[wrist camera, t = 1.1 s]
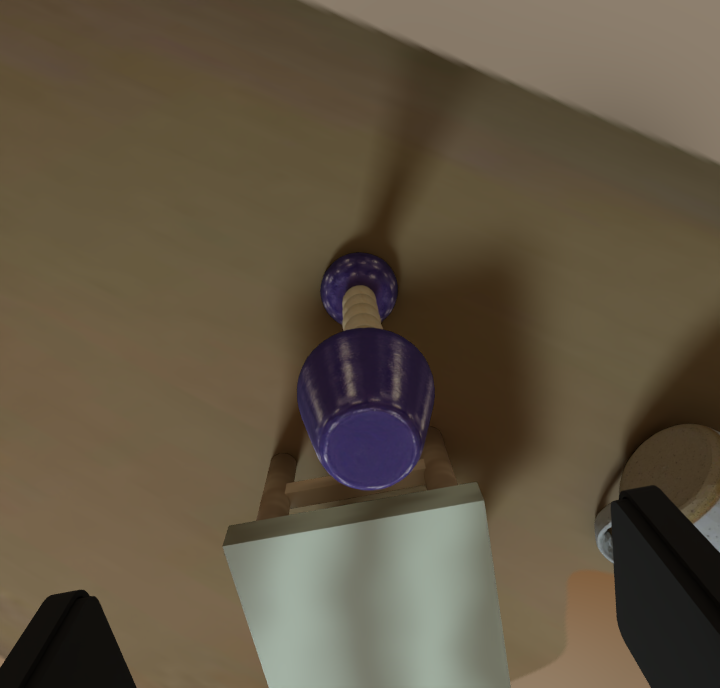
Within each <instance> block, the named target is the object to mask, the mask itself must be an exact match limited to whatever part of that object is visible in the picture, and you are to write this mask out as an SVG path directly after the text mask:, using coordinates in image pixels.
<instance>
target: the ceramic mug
mask: <svg viewBox="0 0 720 688" xmlns="http://www.w3.org/2000/svg"><path fill="white" fill-rule="evenodd" d="M650 485H655V486H657V487H658V488H660V489H661V490H662V491H663V493H664V494H665V495H666V496H667V497H668V498H669V499H670V500H671V501H672V502H673V503H674V504H675V505H676V506H677V507H678V509H679V510H680V511H681V512H682V513H683V514H684V515H685V516H686V517H687V518H688V519H689V520H690V521H691V522H692V523H693V525H694V526H695V527H696V528H697V529H698V530H699V531H700V532H701V533H702V534H703V535H704V536H705V537H706V538H707V539H708V541H709V542H710V543H711V544H712V545H713V546H714V547H715V548H716V549H717V550H718V551H719V552H720V432H718V431H716V430H714V429H712V428H710V427H706V426H703V425H699V424H681V425H675V426H672V427H670V428H667V429H664V430H662V431H660V432H658V433H656V434H654V435H653V436H651V437H650V438H649V439H647V440H646V441H645V442H644V443H642V444H641V445H640V446H639V447H638V448H637V450H636V451H635V452H634V454H633V455H632V456H631V457H630V459H629V460H628V462H627V464H626V466H625V468H624V471H623V474H622V477H621V481H620V488H619V493H620V492H621V491H623V490H628V489H634V488H639V487H645V486H650ZM610 527H612V525H611V503H609V504H608V505H607V506H606V507H605V508H604V509H602V510H601V512H599V513H598V515H597V517H596V519H595V537H596V543H597V546H598V548H599V550H600V552H601V553H602V554H603V555H604V556H605V557H606V558H607V559H608V560H609V561H611V562H612V563H614V560H613V543H612V537H611V535H610V532H608V531H607V529H609V528H610Z"/></svg>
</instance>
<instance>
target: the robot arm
mask: <svg viewBox="0 0 720 688" xmlns="http://www.w3.org/2000/svg"><path fill="white" fill-rule="evenodd" d="M611 525H612V543H613V560H614V578H615V595H616V613H617V621H618V626H619V629H620V632H621V635H622V637H623V639H624V641H625V643H626V645H627V647H628V648H629V650H630V652H631V654H632V655H633V657H634V659H635V661H636V662H637V664H638V666H639V667H640V669H641V671H642V673H643V675H644V676H645V678H646V680H647V681H648V683H649V685H650V687H651V688H720V552H719V551H718V550H717V549H716V548H715V547H714V546H713V545H712V544H711V543H710V542H709V541H708V539H707V538H706V537H705V536H704V535H703V534H702V533H701V532H700V531H699V530H698V529H697V528H696V527H695V526H694V525H693V523H692V522H691V521H690V520H689V519H688V518H687V517H686V516H685V515H684V514H683V513H682V512H681V511H680V510H679V509H678V507H677V506H676V505H675V504H674V503H673V502H672V501H671V500H670V499H669V498H668V497H667V496H666V495H665V494H664V493H663V491H662V490H661V489H660V488H658V487H657V486H655V485H650V486H645V487H639V488H634V489H628V490H623V491H621V492H620V495H619V500H616V501H613V502H611ZM0 688H136V685H135V683H134V681H133V678H132V676H131V674H130V672H129V669H128V667H127V665H126V662H125V660H124V658H123V655H122V653H121V651H120V648H119V646H118V644H117V642H116V639H115V637H114V635H113V632H112V630H111V628H110V625H109V623H108V621H107V619H106V616H105V614H104V612H103V609H102V607H101V605H100V602H99V601H98V599H97V598H96V597H95V596H89V594H88V593H87V592H86V591H85V590H76V591H71V592H65V593H60V594H54V595H51V596H49V597H47V598H46V599H45V601H44V602H43V603H42V605H41V606H40V608H39V609H38V611H37V612H36V614H35V615H34V617H33V618H32V620H31V621H30V623H29V625H28V626H27V628H26V629H25V631H24V632H23V634H22V635H21V637H20V638H19V640H18V641H17V643H16V644H15V646H14V647H13V649H12V651H11V652H10V654H9V655H8V657H7V658H6V660H5V661H4V663H3V664H2V666H1V667H0Z"/></svg>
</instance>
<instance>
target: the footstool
mask: <svg viewBox="0 0 720 688" xmlns="http://www.w3.org/2000/svg"><path fill="white" fill-rule="evenodd" d="M296 466H297V464H296V461H295V459H294V458H293V457H292V456H291V455H289V454H285V453H281V454H277V455H276V456H274V457H273V458H272V460H271V463H270V467H269V471H268V475H267V479H266V483H265V487H264V491H263V495H262V499H261V503H260V507H259V511H258V516H257V520H256V521H253V522H247V523H242V524H236V525H231V526H229V527H228V530H227V534H226V537H225V540H224V543H223V550H224V553H225V556H226V559H227V562H228V565H229V568H230V571H231V574H232V577H233V580H234V583H235V586H236V589H237V592H238V595H239V598H240V601H241V604H242V607H243V610H244V613H245V616H246V619H247V622H248V625H249V628H250V631H251V635H252V638H253V641H254V644H255V647H256V650H257V653H258V656H259V659H260V662H261V665H262V668H263V671H264V674H265V677H266V680H267V683H268V686H269V688H511V686H510V679H509V672H508V665H507V658H506V651H505V644H504V637H503V630H502V623H501V616H500V609H499V602H498V595H497V588H496V581H495V574H494V567H493V560H492V553H491V546H490V539H489V531H488V524H487V517H486V510H485V503H484V499H483V496H482V494H481V491H480V489H479V486H478V483H477V482H472V483H467V484H461V485H458V484H457V481H456V478H455V475H454V471H453V468H452V465H451V462H450V459H449V456H448V453H447V450H446V447H445V444H444V441H443V438H442V435H441V433H440V431H439V430H438V429H436V428H434V427H428V431H427V435H426V439H425V444H424V448H423V451H422V454H421V456H420V460H419V461H418V463H417V464H416V466H415V467H414V468H413V470H412V471H411V472H410V473H409V474H408V475H407V476H406V477H405V478H404V479H403V480H401V481H400V482H398V483H396V484H394V485H392V486H390V487H387V488H384V489H379V490H360V489H354V488H351V487H348V486H346V485H344V484H342V483H340V482H338V481H337V480H335V479H334V478H333V477H332V476H325V477H320V478H314V479H309V480H303V481H298V482H294V479H295V473H296ZM422 485H426V487H427V491H422V492H416V493H411V494H405V495H399V496H394V497H388V498H382V499H377V500H371V501H366V502H360V503H354V504H349V505H343V506H337V507H332V508H326V509H321V510H315V511H309V512H304V513H298V514H292V515H289V510H290V509H293V508H298V507H304V506H309V505H315V504H321V503H326V502H332V501H338V500H343V499H349V498H354V497H360V496H366V495H371V494H377V493H382V492H388V491H394V490H399V489H405V488H410V487H416V486H422Z"/></svg>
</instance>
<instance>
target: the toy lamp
mask: <svg viewBox="0 0 720 688" xmlns="http://www.w3.org/2000/svg"><path fill="white" fill-rule="evenodd" d="M320 292H321V299H322V302H323V305H324V307H325V309H326V311H327V312H328V314H329V315H330V316H331V317H332V318H333V319H334V320H335V321H337V322H338V323H340V324H342V326H343V330H344V331H343V332H340V333H338V334H335V335H333V336H331V337H329V338H328V339H326V340H324V341H323V342H322V343H321V344H319V345H318V346H317V347H316V348H315V349H314V350H313V351H312V352H311V354H310V355H309V356H308V357H307V359H306V361H305V363H304V365H303V367H302V369H301V372H300V375H299V378H298V383H297V400H298V406H299V411H300V414H301V417H302V420H303V422H304V425H305V427H306V430H307V432H308V435H309V437H310V440H311V442H312V445H313V447H314V449H315V452H316V454H317V456H318V459H319V460H320V462H321V464H322V465H323V467H324V468H325V469H326V471H327V472H328V473H329V474H330V475H331V476H332V477H333V478H334V479H335V480H337V481H338V482H340V483H342V484H344V485H346V486H348V487H351V488H354V489H360V490H379V489H384V488H387V487H390V486H392V485H394V484H396V483H398V482H400V481H401V480H403V479H404V478H405V477H406V476H407V475H408V474H409V473H410V472H411V471H412V470H413V468H414V467H415V466H416V464H417V463H418V461H419V459H420V456H421V454H422V451H423V448H424V444H425V439H426V435H427V431H428V427H429V423H430V418H431V414H432V410H433V405H434V398H435V394H434V392H435V388H434V381H433V376H432V373H431V370H430V368H429V365H428V363H427V361H426V359H425V358H424V356H423V355H422V353H421V352H420V351H419V350H418V349H417V348H416V347H415V346H414V345H413V344H412V343H411V342H409V341H407V340H406V339H405V338H403V337H402V336H400V335H398V334H395V333H393V332H390V331H386V330H384V329H383V327H382V325H381V321H383V320H384V319H385V318H386V317H387V316H388V315H389V314H390V313H391V311H392V309H393V308H394V305H395V302H396V299H397V294H398V285H397V280H396V277H395V275H394V273H393V271H392V269H391V268H390V266H389V265H388V264H387V263H386V262H385V261H384V260H382V259H381V258H379V257H377V256H374V255H372V254H368V253H359V252H358V253H351V254H347V255H345V256H342V257H340V258H339V259H337V260H336V261H335V262H333V263H332V265H330V267H329V268H328V270H327V271H326V272H325V274H324V276H323V280H322V283H321V290H320Z"/></svg>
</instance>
